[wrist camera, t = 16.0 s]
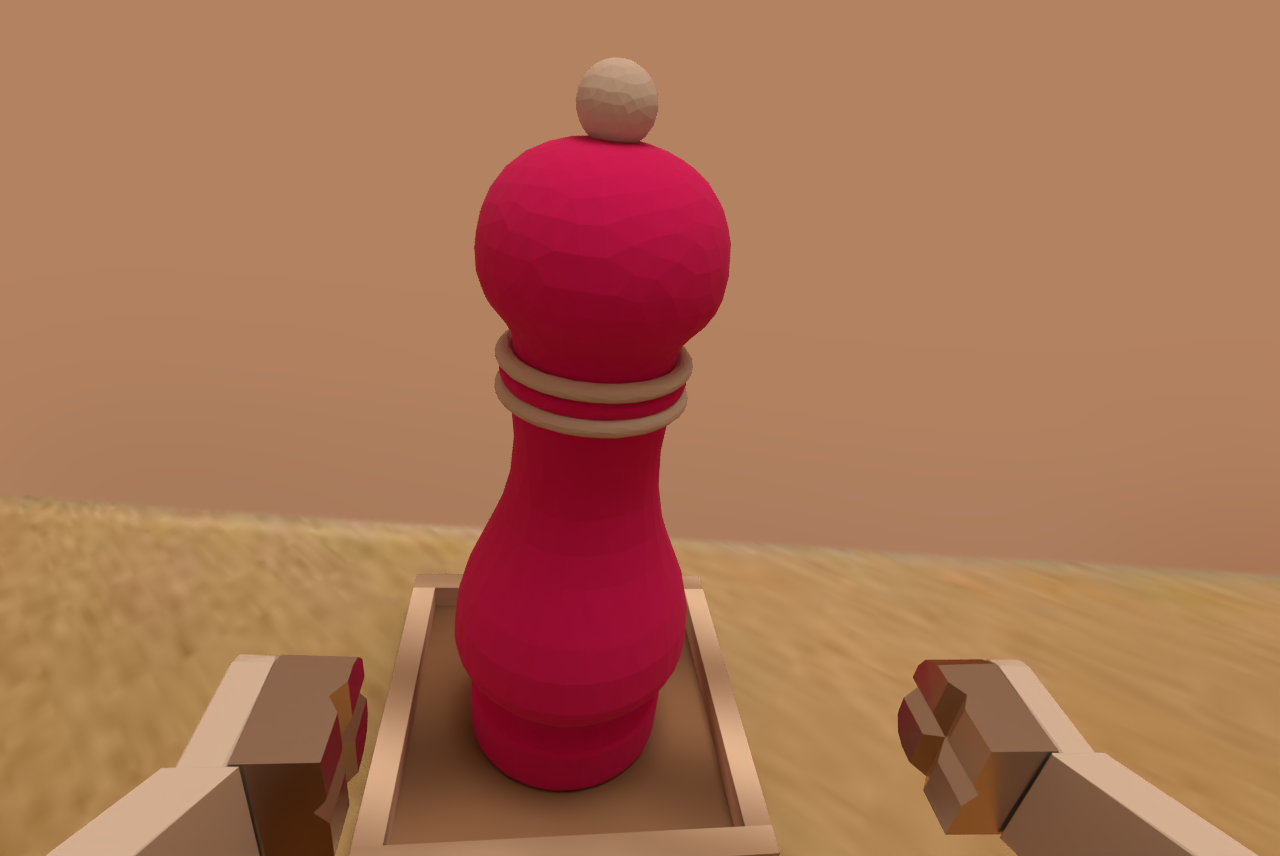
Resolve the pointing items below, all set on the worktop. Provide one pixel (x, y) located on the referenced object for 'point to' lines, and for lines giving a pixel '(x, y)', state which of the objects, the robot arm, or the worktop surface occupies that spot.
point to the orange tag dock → (545, 819)
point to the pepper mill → (586, 436)
